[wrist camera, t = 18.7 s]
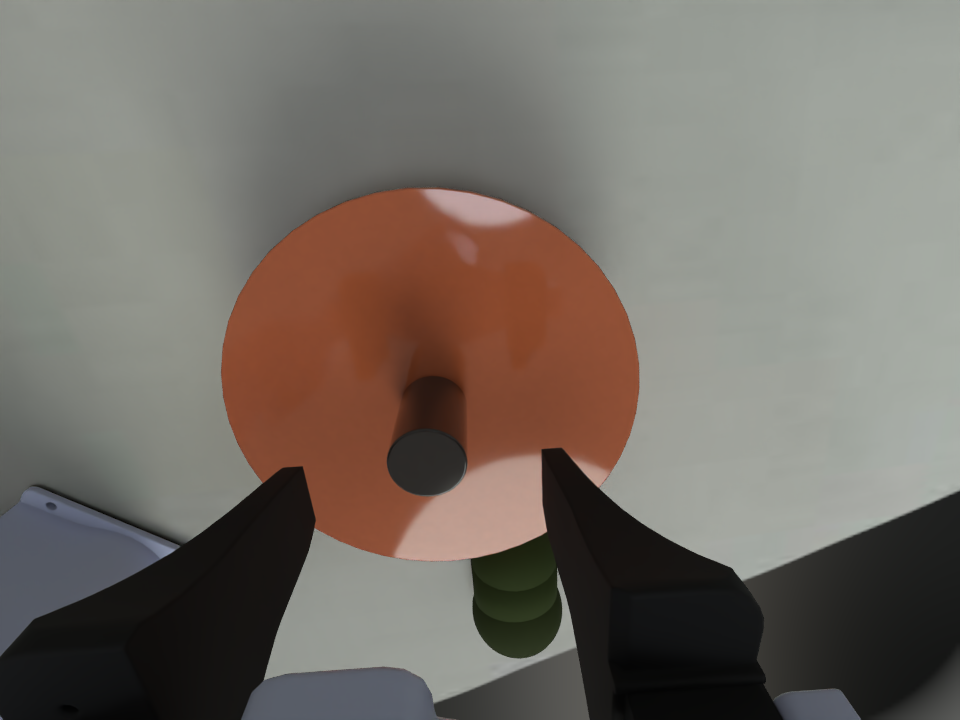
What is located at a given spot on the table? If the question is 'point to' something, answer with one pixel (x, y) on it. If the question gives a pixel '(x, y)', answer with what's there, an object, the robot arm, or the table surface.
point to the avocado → (517, 598)
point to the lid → (429, 369)
